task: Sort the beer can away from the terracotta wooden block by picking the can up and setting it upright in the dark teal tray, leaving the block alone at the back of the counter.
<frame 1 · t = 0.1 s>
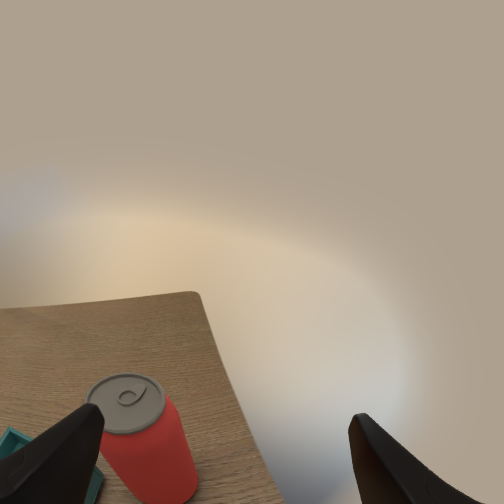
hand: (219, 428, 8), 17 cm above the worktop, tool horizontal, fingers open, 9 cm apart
tray: (37, 497, 11), on the worktop
beer can: (164, 482, 18), on the worktop
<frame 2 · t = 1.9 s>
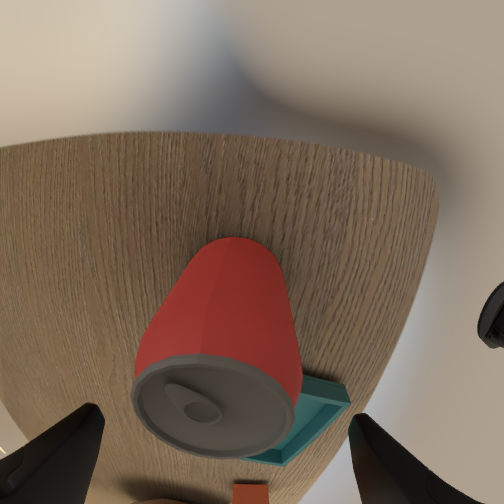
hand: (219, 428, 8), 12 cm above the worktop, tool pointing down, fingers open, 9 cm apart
tray: (256, 410, 24), on the worktop
beer can: (235, 279, 20), on the worktop
terracotta block: (249, 489, 31), on the worktop
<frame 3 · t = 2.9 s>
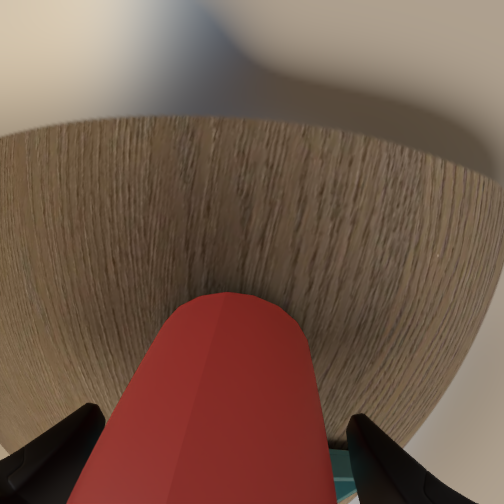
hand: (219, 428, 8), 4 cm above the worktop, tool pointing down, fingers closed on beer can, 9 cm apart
tray: (261, 479, 16), on the worktop
beer can: (234, 349, 12), on the worktop, touching gripper
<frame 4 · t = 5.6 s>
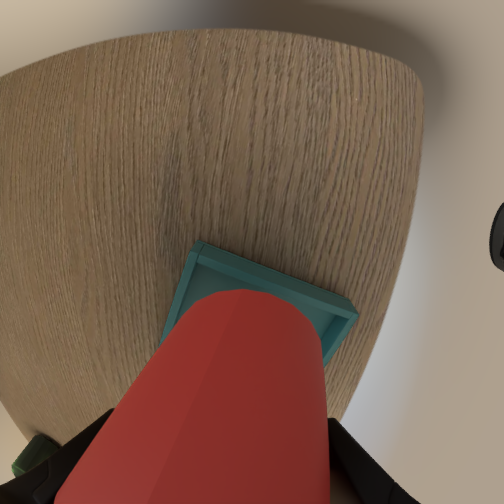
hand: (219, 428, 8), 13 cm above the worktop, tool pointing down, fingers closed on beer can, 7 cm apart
potion bottle: (49, 445, 31), on the worktop
tray: (245, 337, 22), on the worktop
beer can: (249, 346, 13), point 8 cm above the worktop, touching gripper
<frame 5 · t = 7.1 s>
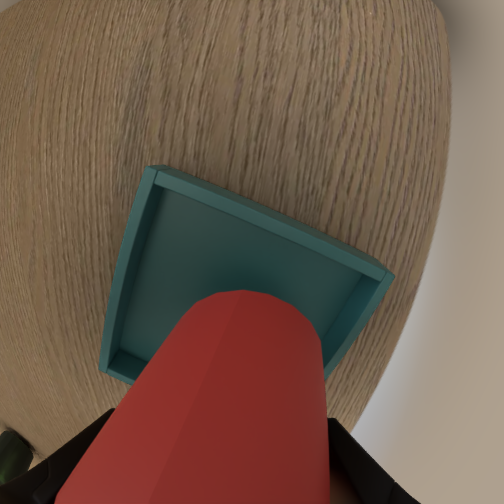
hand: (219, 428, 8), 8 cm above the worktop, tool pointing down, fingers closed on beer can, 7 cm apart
potion bottle: (19, 442, 25), on the worktop
tray: (229, 312, 15), on the worktop
beer can: (249, 346, 13), point 3 cm above the worktop, touching gripper
when the fingers open (6 cm above the worktop, at t = 8.2 s): beer can stays where it is, resting on tray.
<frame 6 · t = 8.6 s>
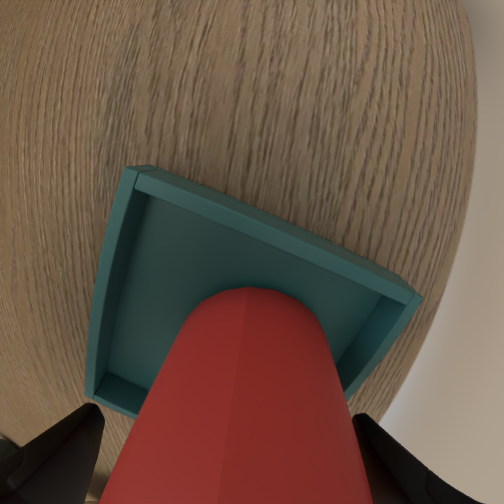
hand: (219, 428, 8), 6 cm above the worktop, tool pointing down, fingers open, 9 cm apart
potion bottle: (15, 451, 22), on the worktop
tray: (229, 336, 13), on the worktop
beer can: (252, 344, 13), resting on tray
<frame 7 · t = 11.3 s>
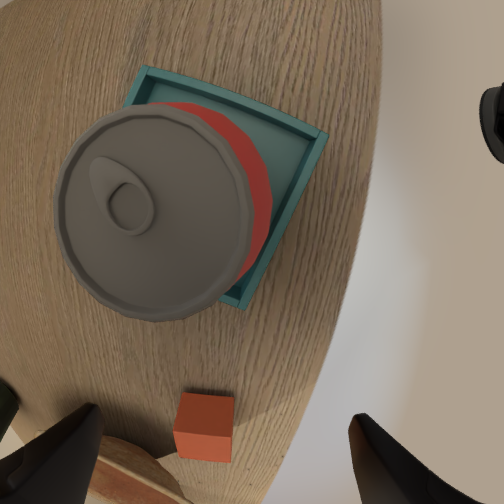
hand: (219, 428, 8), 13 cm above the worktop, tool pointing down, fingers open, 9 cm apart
potion bottle: (6, 393, 28), on the worktop
tray: (198, 183, 18), on the worktop
bowl: (126, 450, 29), on the worktop
beer can: (213, 184, 18), resting on tray
terracotta block: (208, 410, 25), on the worktop
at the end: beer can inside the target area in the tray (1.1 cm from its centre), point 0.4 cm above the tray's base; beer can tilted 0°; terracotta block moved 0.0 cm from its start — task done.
